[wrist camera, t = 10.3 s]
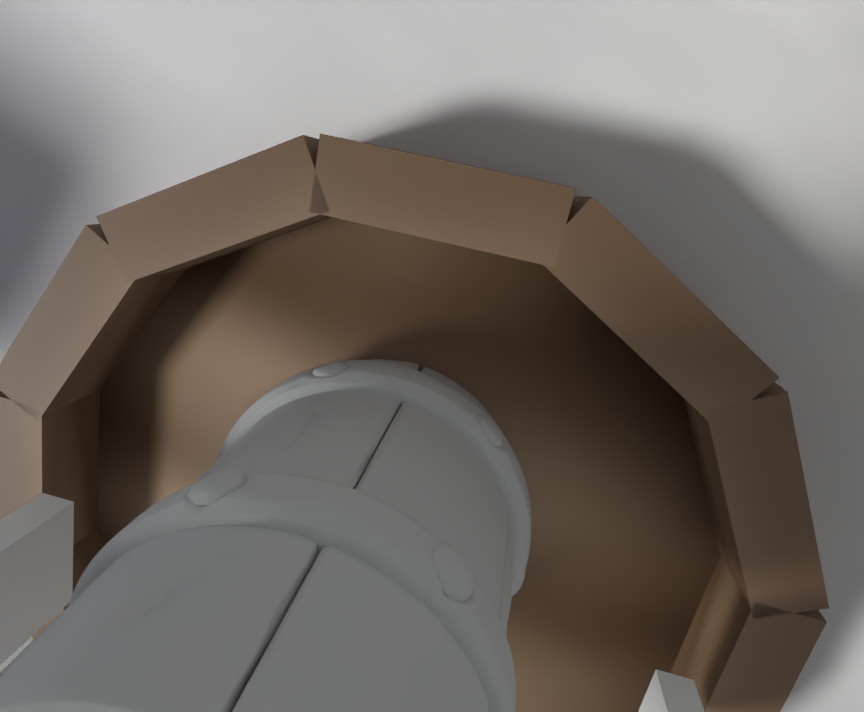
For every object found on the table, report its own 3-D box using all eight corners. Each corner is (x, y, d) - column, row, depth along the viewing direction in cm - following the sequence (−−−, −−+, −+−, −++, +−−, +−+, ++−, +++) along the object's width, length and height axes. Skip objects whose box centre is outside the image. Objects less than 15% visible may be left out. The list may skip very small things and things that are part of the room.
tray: (76, 84, 14) (-26, 60, 12) (902, 261, 12) (1004, 279, 10) (69, 685, 20) (0, 759, 18) (625, 863, 18) (643, 976, 16)
